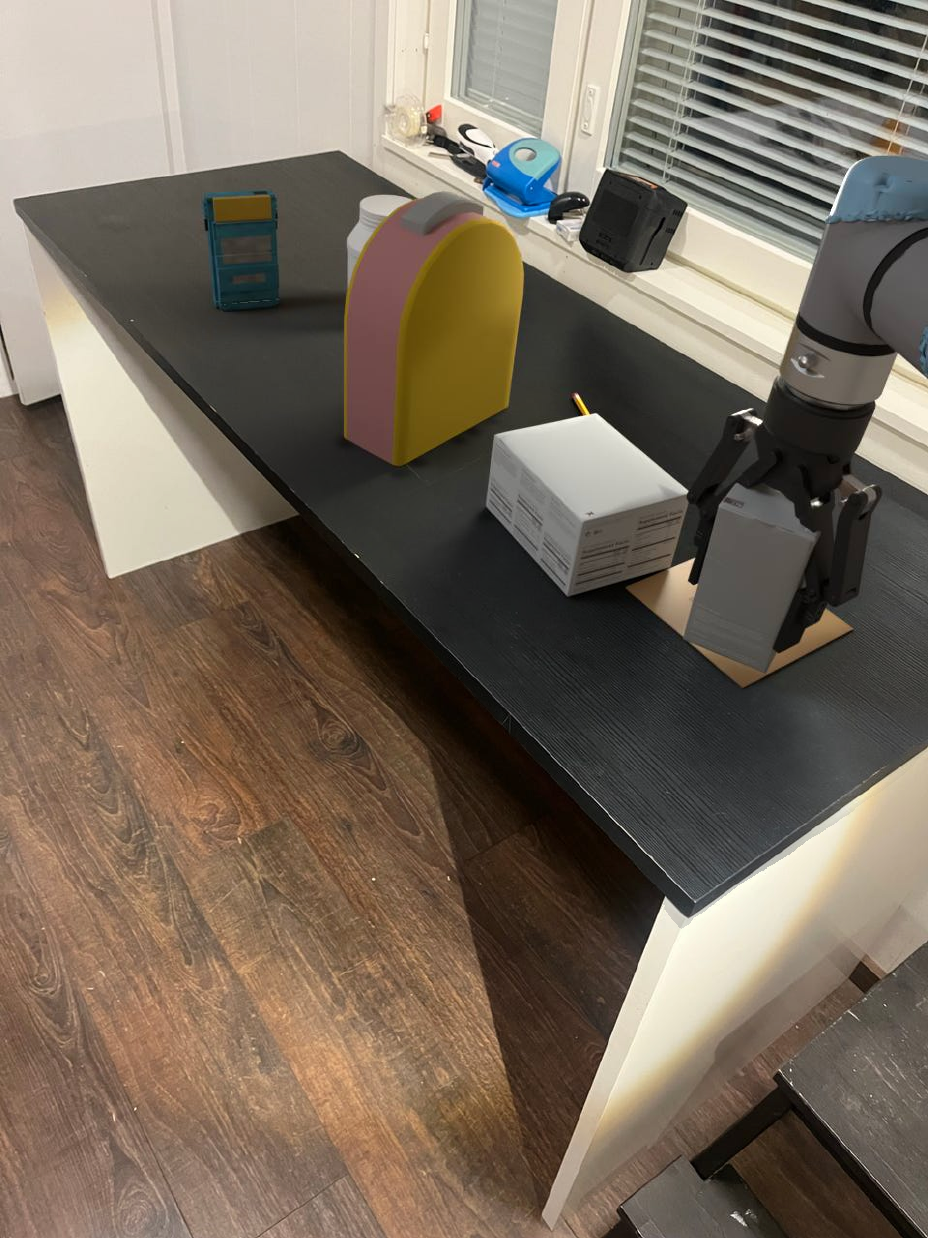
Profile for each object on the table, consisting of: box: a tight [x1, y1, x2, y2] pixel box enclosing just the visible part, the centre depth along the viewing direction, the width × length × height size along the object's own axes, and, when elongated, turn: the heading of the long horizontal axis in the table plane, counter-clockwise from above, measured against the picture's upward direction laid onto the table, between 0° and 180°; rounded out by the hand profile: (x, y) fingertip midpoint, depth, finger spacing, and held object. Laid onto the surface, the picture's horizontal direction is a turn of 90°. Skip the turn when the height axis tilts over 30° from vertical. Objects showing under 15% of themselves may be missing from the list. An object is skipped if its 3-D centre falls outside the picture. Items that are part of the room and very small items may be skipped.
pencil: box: [571, 392, 590, 416], centre depth 119 cm, size 1×13×1 cm, turn 12°
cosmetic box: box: [682, 481, 837, 673], centre depth 82 cm, size 8×7×16 cm
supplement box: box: [485, 413, 690, 597], centre depth 98 cm, size 17×13×9 cm
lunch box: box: [343, 190, 525, 467], centre depth 107 cm, size 21×9×26 cm, turn 140°
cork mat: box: [625, 557, 854, 689], centre depth 94 cm, size 16×16×1 cm
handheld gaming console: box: [201, 189, 280, 312], centre depth 130 cm, size 10×4×15 cm, turn 113°
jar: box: [346, 194, 413, 288], centre depth 132 cm, size 12×10×15 cm
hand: (741, 610), depth 85 cm, fingers closed on cosmetic box, 10 cm apart
